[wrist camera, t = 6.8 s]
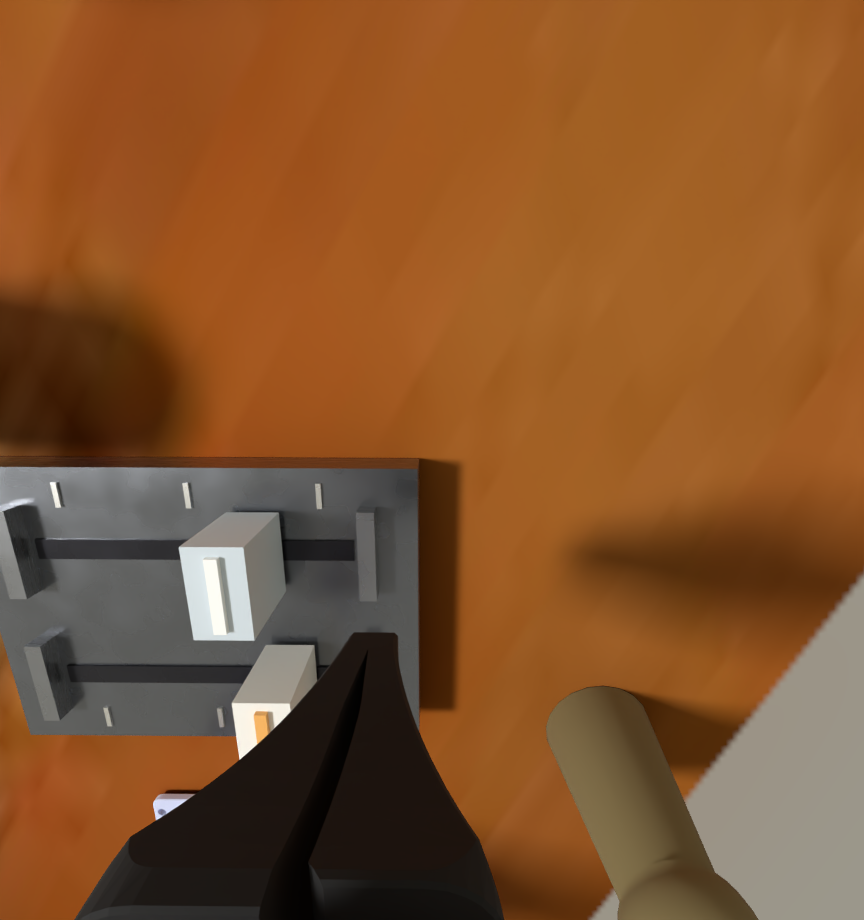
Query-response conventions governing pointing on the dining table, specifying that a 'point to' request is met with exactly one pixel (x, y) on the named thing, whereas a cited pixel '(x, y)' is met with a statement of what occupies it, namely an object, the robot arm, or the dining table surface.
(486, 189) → the dining table surface
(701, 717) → the dining table surface
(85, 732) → the console
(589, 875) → the dining table surface
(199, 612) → the fader bluegrey
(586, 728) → the tan bulb-headed cylinder
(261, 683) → the fader cream
